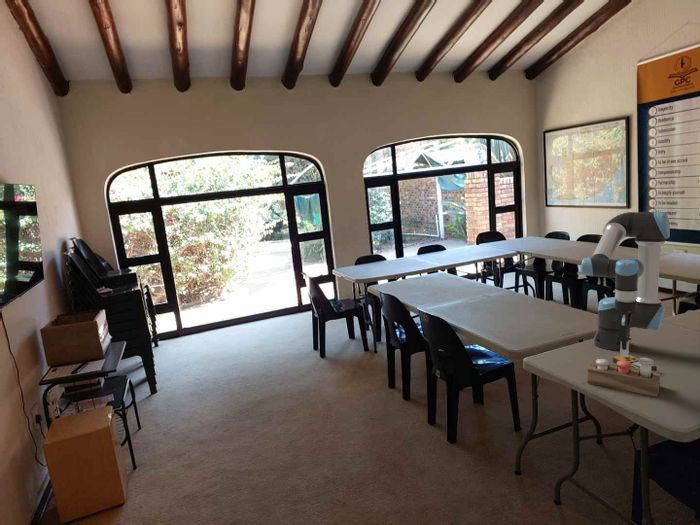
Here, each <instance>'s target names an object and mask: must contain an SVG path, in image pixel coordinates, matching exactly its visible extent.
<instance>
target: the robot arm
mask: <svg viewBox="0 0 700 525" xmlns="http://www.w3.org/2000/svg"><path fill="white" fill-rule="evenodd" d="M670 228H671V227H670V219H669V216H668V214H667V213H666V212H663V211H634V212H633V211H627V212H623V213H620V214H617V215H616V216H614V217H612V218H611V219H609V220H608V222H607V223H606V224H605V225H604V227H603V229H602V235H601V237H600V240H599V241H598V244H597V245H596V247H595V250H594V251H593V253H592V255H591V257H584V258H583V259H582V261H581V264H580V271H581V274H582V275H584V276H590V277H601V278H613V279H614V278H615V286H614V287H615V289H614V290H613V293H614V297H613V296H612V297H605V298H602V299H600V301H599V302H598V306H597V307H598V308H597V329H596V332H595V334H594V337H593V344H594V346H596V347H598V348H600V349H604V350H611V351H619V355H620V356H623V357H628V355H629V353H630V352H629V349H630V341H632V338H631V333H630V332H631V328H634V329H641V330H646V331H647V330H650V331H658V330H660V328H661V326H662V323H663V319H664V316H665V313H666V312H665V311H666V306H664V305H663V304H662V301H661V299H659V296H658V294H659V278H660V264H661V249H662V245H663V244H664V243H666V239H669V238H670V236H671V233H670V232H671V229H670ZM625 238H634V242H635V243H636V244H637V246H638V248H637V249H638V250H637V258H636V257H635V258H633V257H632V258H629V259H616V258H614V255H615V253H616V251H617V249H618V247H619V244H620V243H621V241H622V240H624V239H625ZM613 258H614V259H613Z"/></svg>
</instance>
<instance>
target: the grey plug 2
mask: <svg viewBox="0 0 700 525" xmlns="http://www.w3.org/2000/svg"><path fill="white" fill-rule="evenodd" d="M638 359H639V363H641V365H640V376H643V377H649V378H651V365H654V360H653V359H652V358H648V357H640V358H638Z"/></svg>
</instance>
